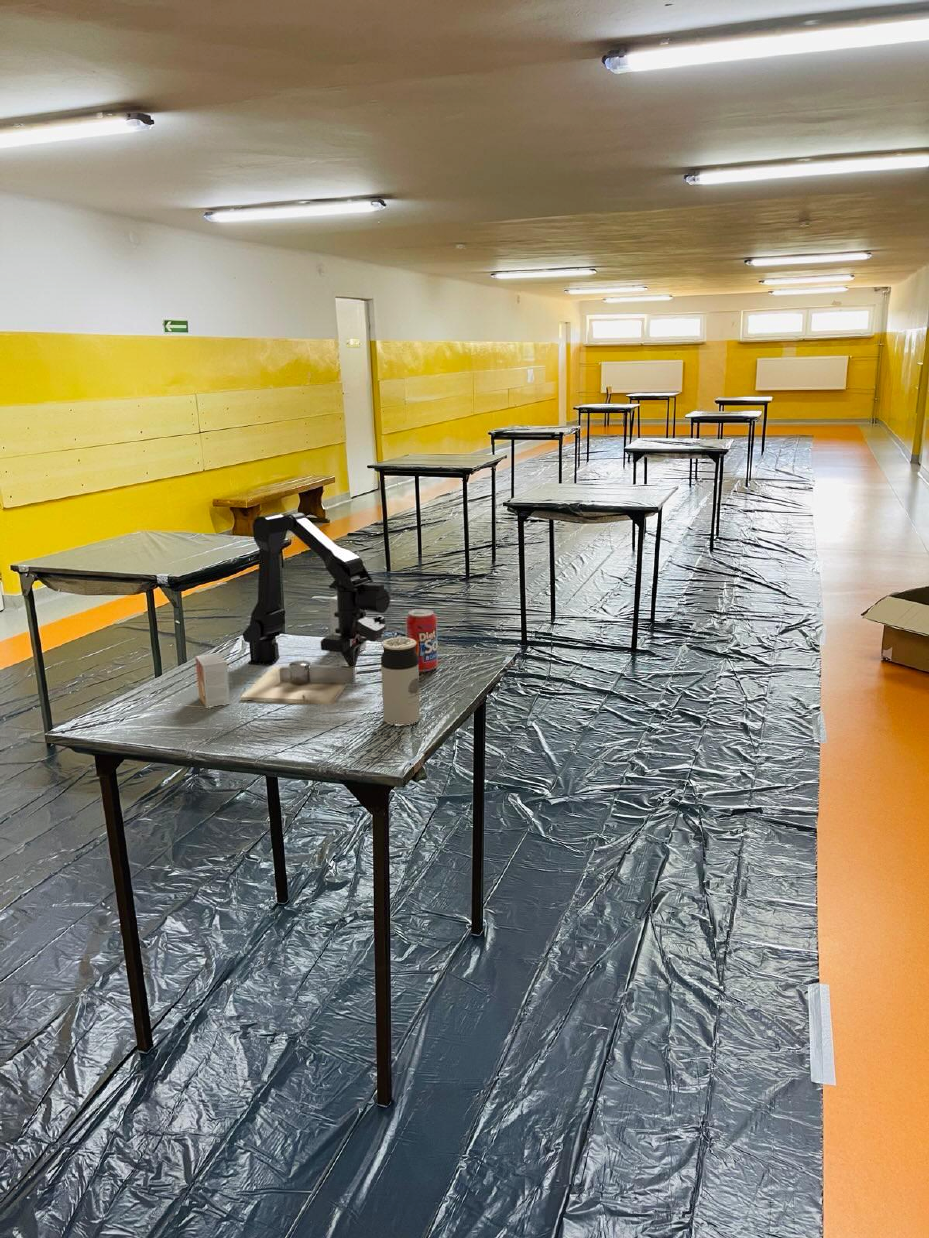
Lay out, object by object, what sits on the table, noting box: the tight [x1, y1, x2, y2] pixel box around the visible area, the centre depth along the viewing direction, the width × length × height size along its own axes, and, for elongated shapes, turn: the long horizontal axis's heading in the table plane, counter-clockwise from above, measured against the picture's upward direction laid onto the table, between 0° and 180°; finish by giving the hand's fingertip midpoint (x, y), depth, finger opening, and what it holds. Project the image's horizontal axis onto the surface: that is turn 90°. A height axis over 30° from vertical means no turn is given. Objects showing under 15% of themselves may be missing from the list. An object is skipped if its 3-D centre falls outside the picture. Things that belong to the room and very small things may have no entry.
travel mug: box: [380, 636, 421, 725], centre depth 189 cm, size 8×8×18 cm
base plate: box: [240, 665, 358, 706], centre depth 213 cm, size 22×22×1 cm
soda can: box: [405, 608, 439, 673], centre depth 222 cm, size 8×8×15 cm
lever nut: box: [279, 660, 357, 685], centre depth 211 cm, size 18×5×4 cm, turn 82°
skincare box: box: [329, 595, 367, 651], centre depth 238 cm, size 8×6×15 cm
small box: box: [195, 652, 231, 708], centre depth 203 cm, size 8×6×10 cm
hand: (352, 668), depth 216 cm, fingers closed
